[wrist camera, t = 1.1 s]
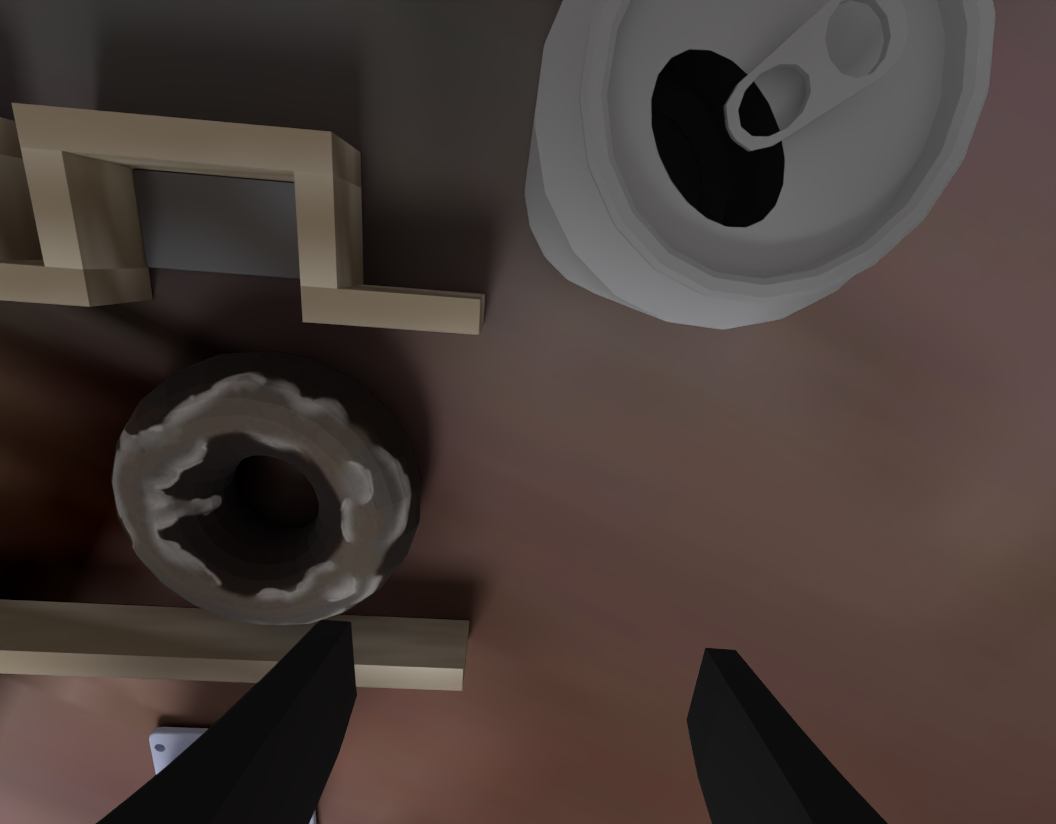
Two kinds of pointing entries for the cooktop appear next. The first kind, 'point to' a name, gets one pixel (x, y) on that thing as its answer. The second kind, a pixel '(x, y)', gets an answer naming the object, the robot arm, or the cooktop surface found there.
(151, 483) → the donut
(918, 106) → the can
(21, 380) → the cooktop surface
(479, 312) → the beige square zigzag bar
